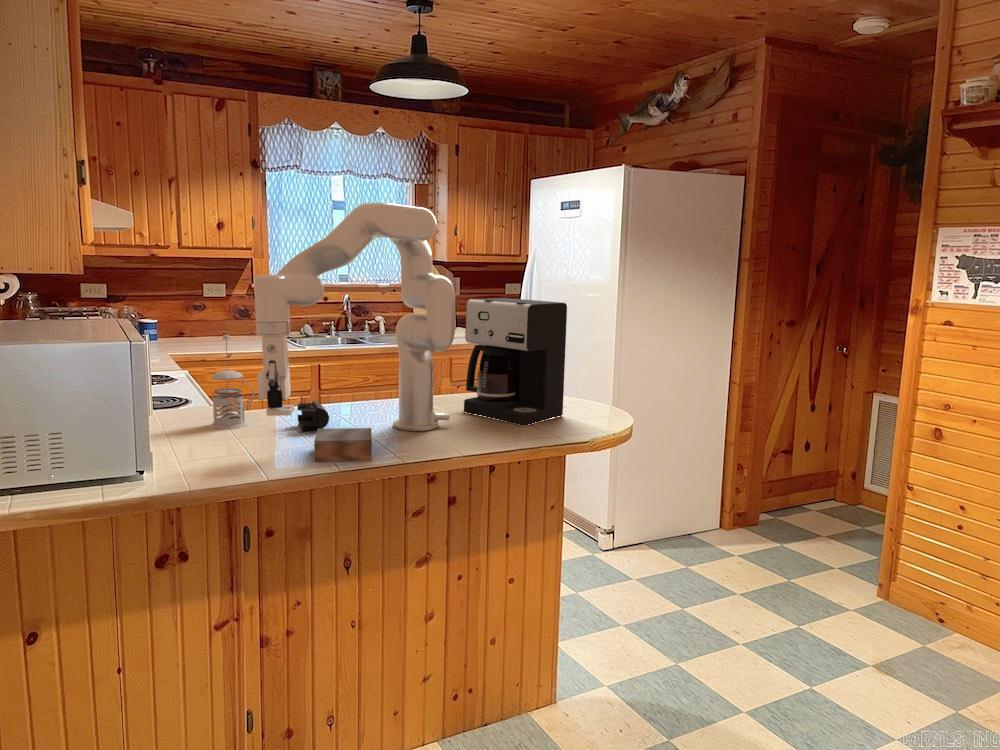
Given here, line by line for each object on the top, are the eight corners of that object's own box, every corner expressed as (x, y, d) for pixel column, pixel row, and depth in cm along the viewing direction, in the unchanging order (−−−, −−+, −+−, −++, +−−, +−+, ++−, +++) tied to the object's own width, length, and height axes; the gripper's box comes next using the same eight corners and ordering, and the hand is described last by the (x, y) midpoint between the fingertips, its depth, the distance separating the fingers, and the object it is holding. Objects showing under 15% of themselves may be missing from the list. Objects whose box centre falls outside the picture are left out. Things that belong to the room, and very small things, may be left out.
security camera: (265, 410, 180) (263, 369, 178) (295, 409, 181) (293, 368, 179) (259, 416, 174) (256, 373, 172) (290, 415, 174) (288, 373, 173)
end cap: (329, 431, 203) (329, 407, 201) (302, 433, 200) (302, 408, 199) (323, 423, 212) (323, 400, 211) (297, 425, 209) (297, 401, 208)
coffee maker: (452, 411, 232) (454, 297, 226) (493, 402, 247) (496, 296, 241) (523, 426, 214) (527, 303, 208) (563, 416, 229) (568, 301, 223)
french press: (208, 422, 209) (205, 333, 205) (252, 419, 213) (250, 332, 209) (211, 430, 200) (207, 337, 196) (256, 427, 205) (254, 336, 201)
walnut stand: (371, 447, 187) (371, 427, 186) (371, 460, 175) (371, 439, 175) (317, 448, 185) (317, 428, 184) (314, 462, 173) (314, 440, 172)
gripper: (286, 333, 166) (290, 412, 169) (293, 324, 183) (296, 396, 186) (251, 333, 165) (255, 413, 168) (261, 324, 181) (265, 396, 185)
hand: (277, 403), depth 177 cm, fingers closed on security camera, 6 cm apart
